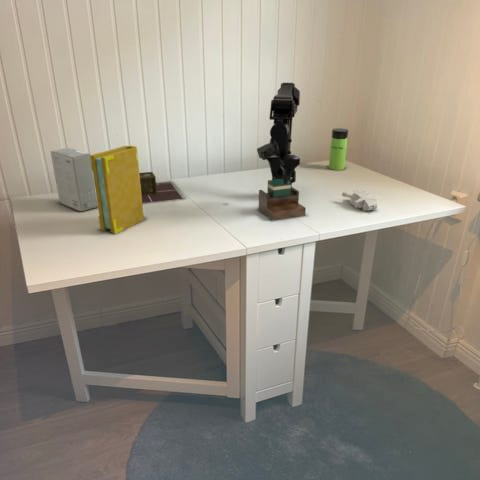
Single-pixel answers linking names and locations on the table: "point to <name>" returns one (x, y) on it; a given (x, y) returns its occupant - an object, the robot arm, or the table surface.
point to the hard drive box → (74, 178)
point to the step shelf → (281, 205)
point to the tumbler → (338, 149)
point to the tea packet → (278, 188)
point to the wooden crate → (156, 189)
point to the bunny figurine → (361, 200)
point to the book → (117, 188)
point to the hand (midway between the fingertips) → (279, 180)
